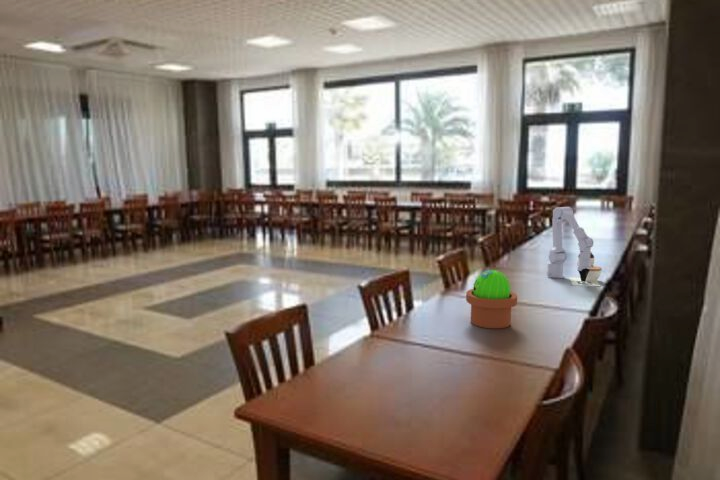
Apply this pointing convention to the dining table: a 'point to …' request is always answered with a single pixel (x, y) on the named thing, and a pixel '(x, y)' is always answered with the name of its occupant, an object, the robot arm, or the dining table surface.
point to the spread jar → (590, 259)
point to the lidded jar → (594, 273)
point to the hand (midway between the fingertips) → (583, 281)
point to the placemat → (583, 282)
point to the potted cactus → (491, 300)
